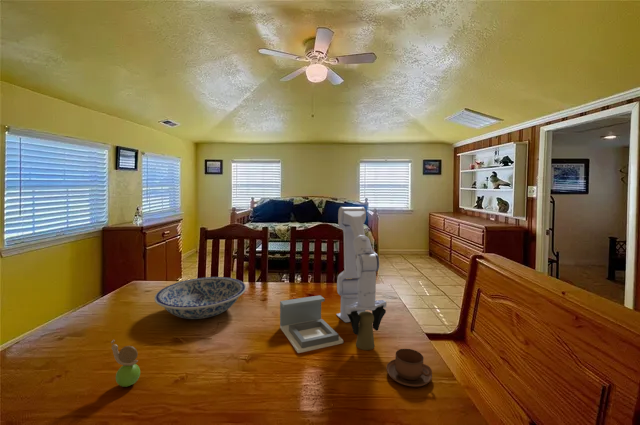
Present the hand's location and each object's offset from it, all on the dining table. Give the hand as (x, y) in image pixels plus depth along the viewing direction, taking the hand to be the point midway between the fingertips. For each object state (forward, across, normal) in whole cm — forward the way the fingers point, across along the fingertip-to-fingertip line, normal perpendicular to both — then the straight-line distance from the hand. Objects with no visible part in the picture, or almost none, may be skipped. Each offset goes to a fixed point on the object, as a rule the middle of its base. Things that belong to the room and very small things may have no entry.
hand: (365, 331), depth 101 cm
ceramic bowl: (+5, -47, +48) cm, 67 cm away
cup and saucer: (+5, +2, -19) cm, 20 cm away
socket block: (+5, -14, +13) cm, 20 cm away
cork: (+5, 0, 0) cm, 5 cm away
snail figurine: (+5, -68, +7) cm, 69 cm away
